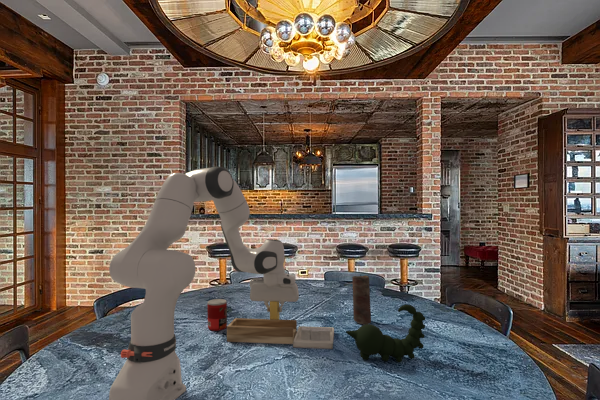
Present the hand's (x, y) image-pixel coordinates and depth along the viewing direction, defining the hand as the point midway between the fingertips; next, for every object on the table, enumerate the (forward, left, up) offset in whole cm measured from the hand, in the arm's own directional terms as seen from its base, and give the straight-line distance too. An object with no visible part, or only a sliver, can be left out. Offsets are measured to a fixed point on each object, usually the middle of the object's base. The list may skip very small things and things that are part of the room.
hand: (274, 311), depth 145 cm
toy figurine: (-25, -42, -7) cm, 49 cm away
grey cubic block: (-11, -14, -6) cm, 19 cm away
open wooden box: (-11, +3, -7) cm, 13 cm away
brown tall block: (+10, -36, -7) cm, 38 cm away
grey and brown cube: (-11, -20, -4) cm, 23 cm away
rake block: (0, 0, -5) cm, 5 cm away
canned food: (-2, +24, -7) cm, 25 cm away
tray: (-11, -18, -7) cm, 22 cm away
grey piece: (-12, -18, -6) cm, 22 cm away
